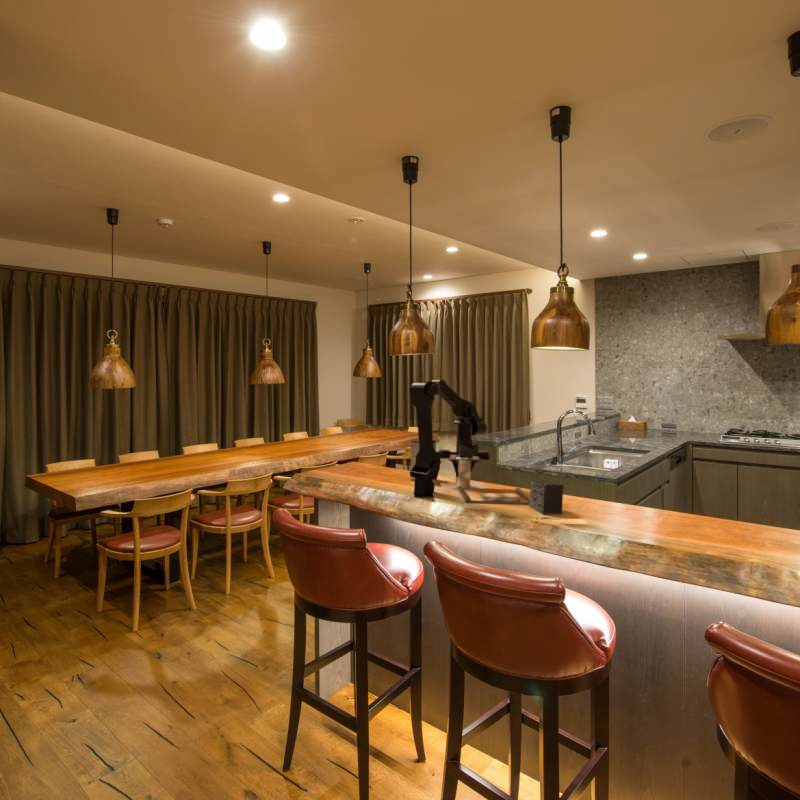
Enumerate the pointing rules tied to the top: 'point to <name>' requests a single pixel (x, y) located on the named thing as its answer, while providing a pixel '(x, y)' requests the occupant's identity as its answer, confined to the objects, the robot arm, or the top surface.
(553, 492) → the small box
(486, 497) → the upper offcut
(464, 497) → the rack
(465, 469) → the tan brown block
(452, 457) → the robot arm
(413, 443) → the coffee box
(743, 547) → the top surface
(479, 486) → the mat
